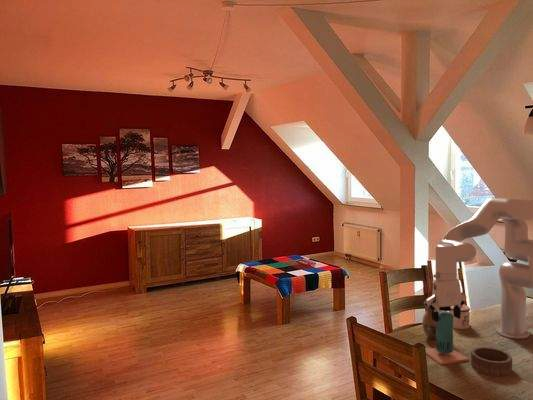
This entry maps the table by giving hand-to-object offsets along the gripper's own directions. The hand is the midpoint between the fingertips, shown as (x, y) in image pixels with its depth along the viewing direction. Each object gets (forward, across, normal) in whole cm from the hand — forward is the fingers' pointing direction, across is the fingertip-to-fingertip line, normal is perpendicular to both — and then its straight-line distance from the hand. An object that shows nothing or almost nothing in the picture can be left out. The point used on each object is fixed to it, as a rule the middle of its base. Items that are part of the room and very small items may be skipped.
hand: (446, 319), depth 168 cm
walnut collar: (+15, +9, -13) cm, 22 cm away
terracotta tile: (+15, -1, 0) cm, 15 cm away
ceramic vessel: (+15, +6, +17) cm, 23 cm away
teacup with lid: (+16, +26, +26) cm, 40 cm away
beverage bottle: (+14, -1, 0) cm, 14 cm away
